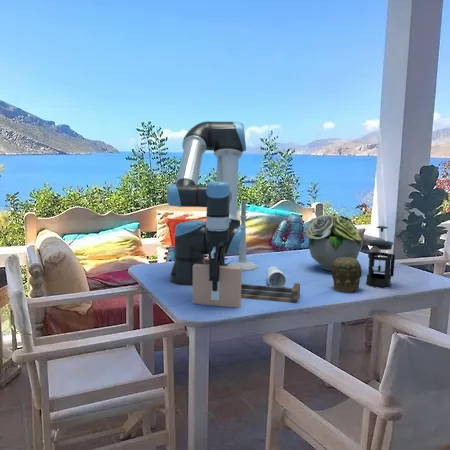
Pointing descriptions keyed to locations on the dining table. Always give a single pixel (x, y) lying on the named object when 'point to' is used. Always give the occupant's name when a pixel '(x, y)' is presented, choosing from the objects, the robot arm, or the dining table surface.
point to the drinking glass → (276, 277)
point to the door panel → (228, 286)
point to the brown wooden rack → (271, 292)
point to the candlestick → (243, 245)
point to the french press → (376, 278)
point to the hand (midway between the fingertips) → (216, 298)
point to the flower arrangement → (332, 239)
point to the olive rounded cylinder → (346, 274)
